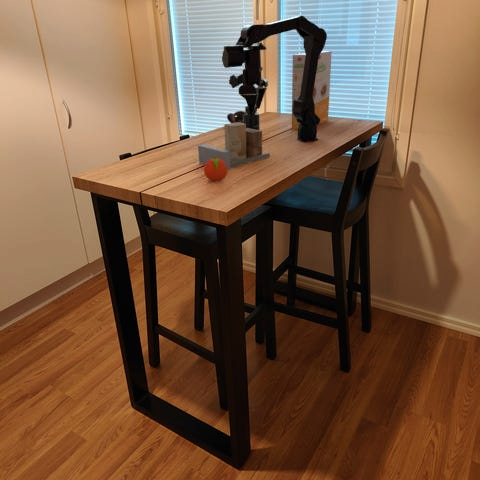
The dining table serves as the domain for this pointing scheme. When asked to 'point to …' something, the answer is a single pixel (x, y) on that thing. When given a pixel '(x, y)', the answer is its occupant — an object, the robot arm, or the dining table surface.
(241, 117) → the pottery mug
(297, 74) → the cereal box
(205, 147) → the backstop rail
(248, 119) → the supplement bottle
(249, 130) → the walnut block
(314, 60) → the robot arm
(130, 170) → the dining table surface
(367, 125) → the dining table surface
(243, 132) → the skincare box
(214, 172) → the red rounded fruit
